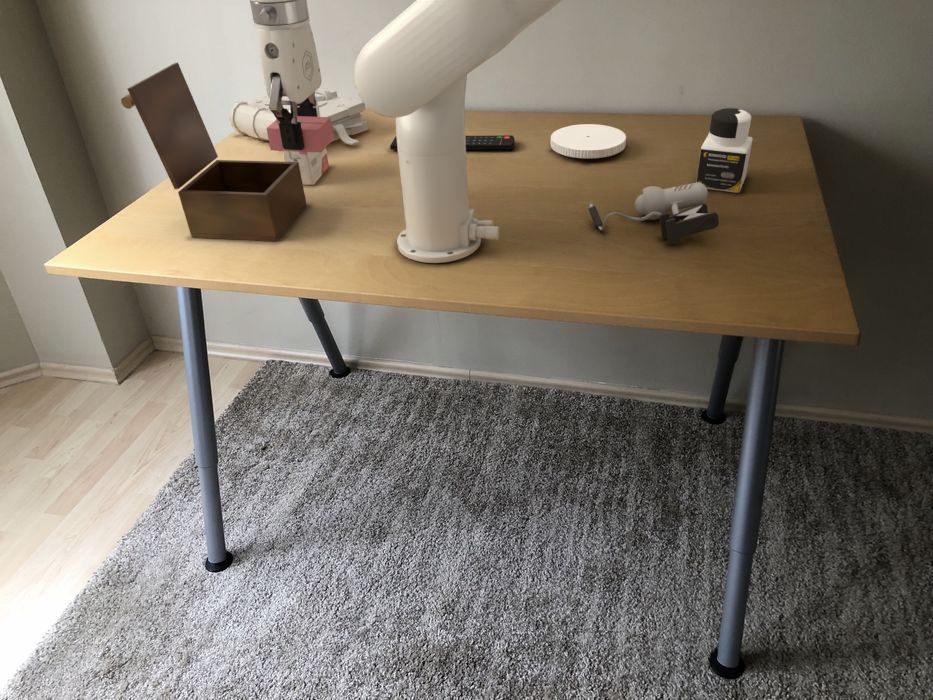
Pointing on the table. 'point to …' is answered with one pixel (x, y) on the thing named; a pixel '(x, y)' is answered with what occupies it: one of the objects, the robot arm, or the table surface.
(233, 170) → the chest
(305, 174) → the ink cartridge box
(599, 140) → the plastic lid
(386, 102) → the robot arm
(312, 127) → the pink slotted box
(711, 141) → the medicine bottle
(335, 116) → the book
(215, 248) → the table surface
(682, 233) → the clip-on lamp
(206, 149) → the lid
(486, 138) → the remote control
